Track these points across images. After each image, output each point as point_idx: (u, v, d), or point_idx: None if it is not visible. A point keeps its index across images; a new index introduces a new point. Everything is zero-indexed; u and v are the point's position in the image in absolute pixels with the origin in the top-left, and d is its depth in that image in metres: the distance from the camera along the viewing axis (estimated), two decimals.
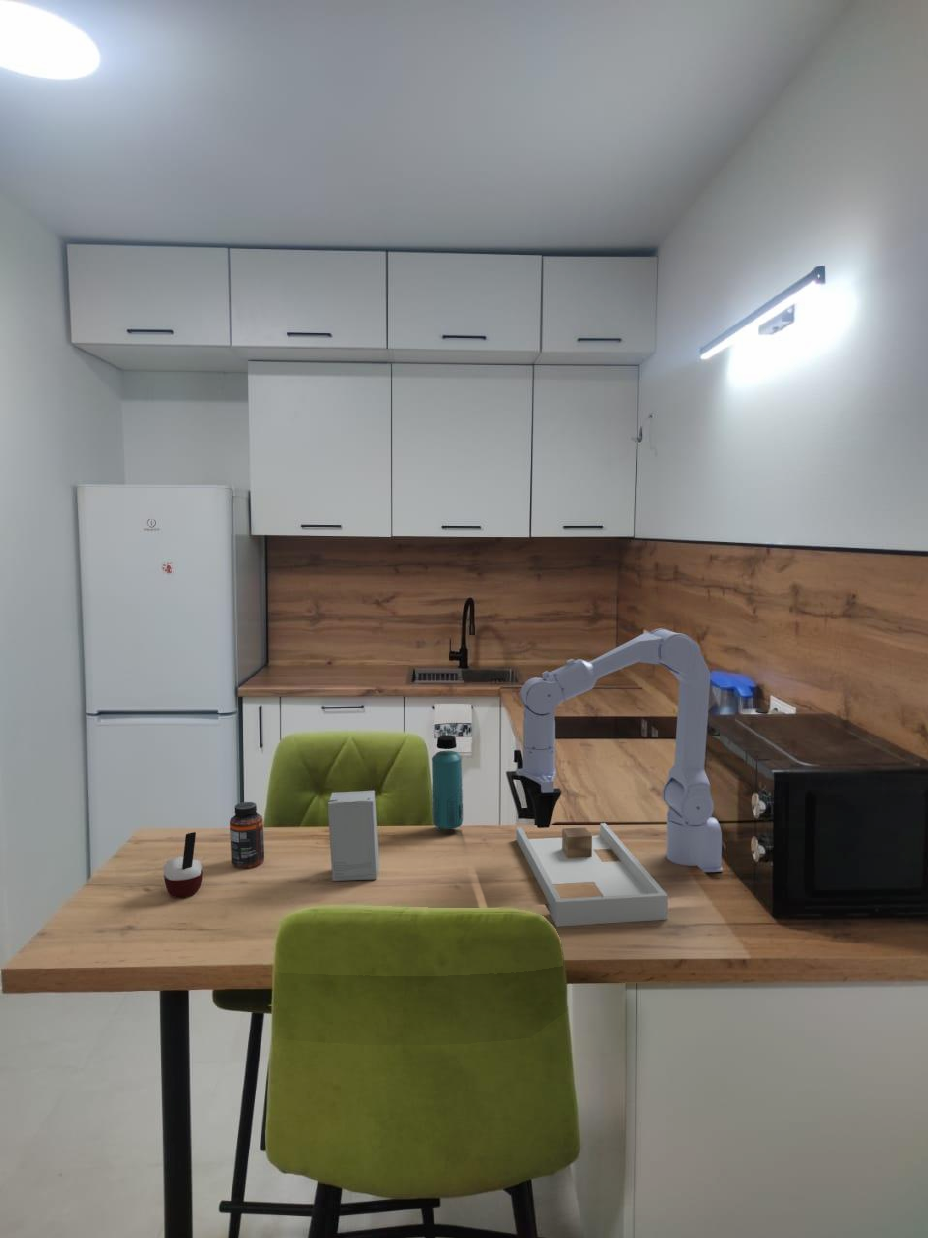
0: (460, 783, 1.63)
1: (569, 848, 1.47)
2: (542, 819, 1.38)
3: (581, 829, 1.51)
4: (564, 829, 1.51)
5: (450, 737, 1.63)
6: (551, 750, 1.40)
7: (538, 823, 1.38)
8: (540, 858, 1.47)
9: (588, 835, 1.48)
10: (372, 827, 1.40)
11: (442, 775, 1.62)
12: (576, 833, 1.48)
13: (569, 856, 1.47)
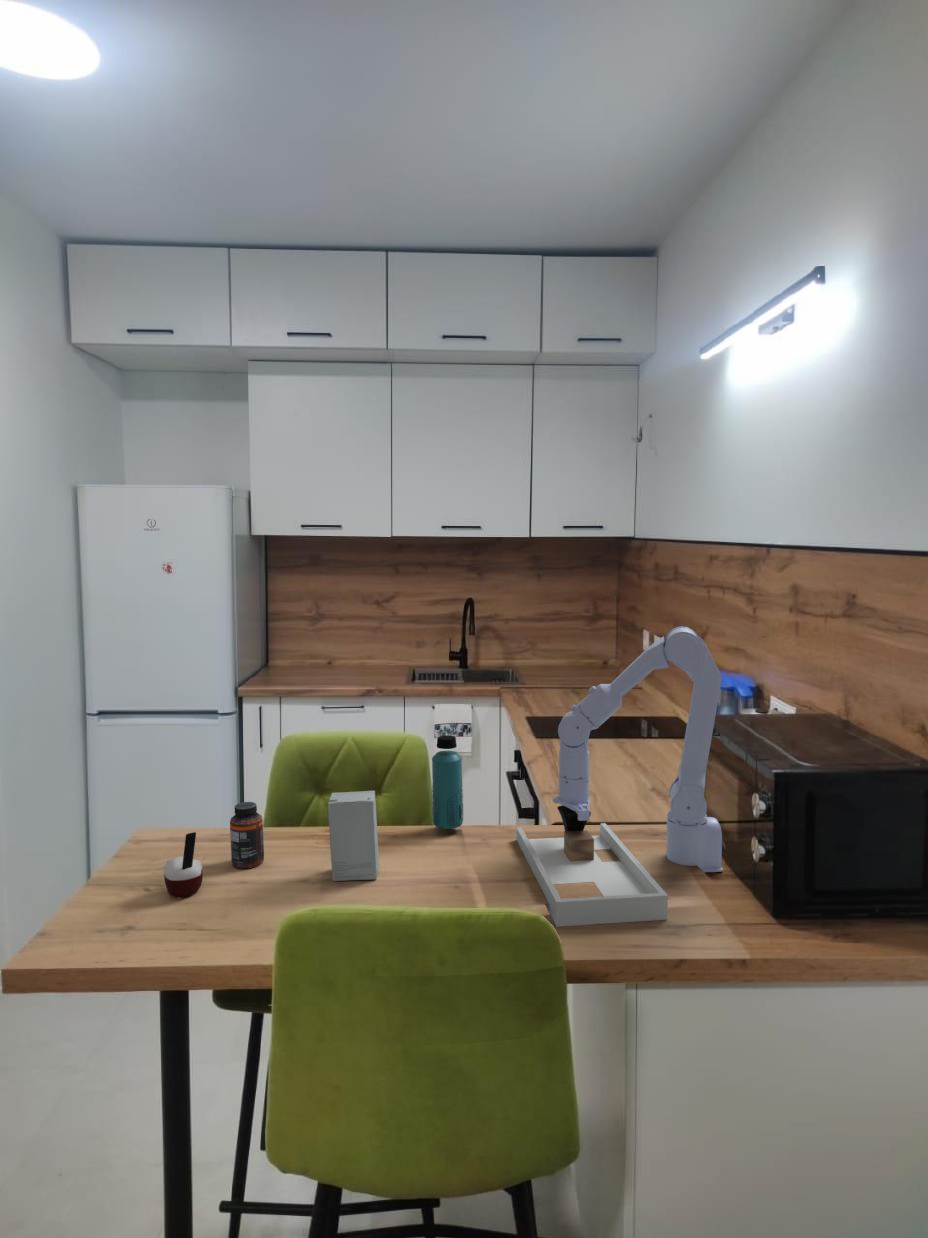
0: (460, 783, 1.63)
1: (571, 852, 1.45)
2: None
3: (583, 832, 1.49)
4: (566, 832, 1.49)
5: (450, 737, 1.63)
6: (586, 780, 1.49)
7: None
8: (540, 858, 1.47)
9: (590, 838, 1.46)
10: (372, 827, 1.40)
11: (442, 775, 1.62)
12: (578, 836, 1.47)
13: (571, 859, 1.46)
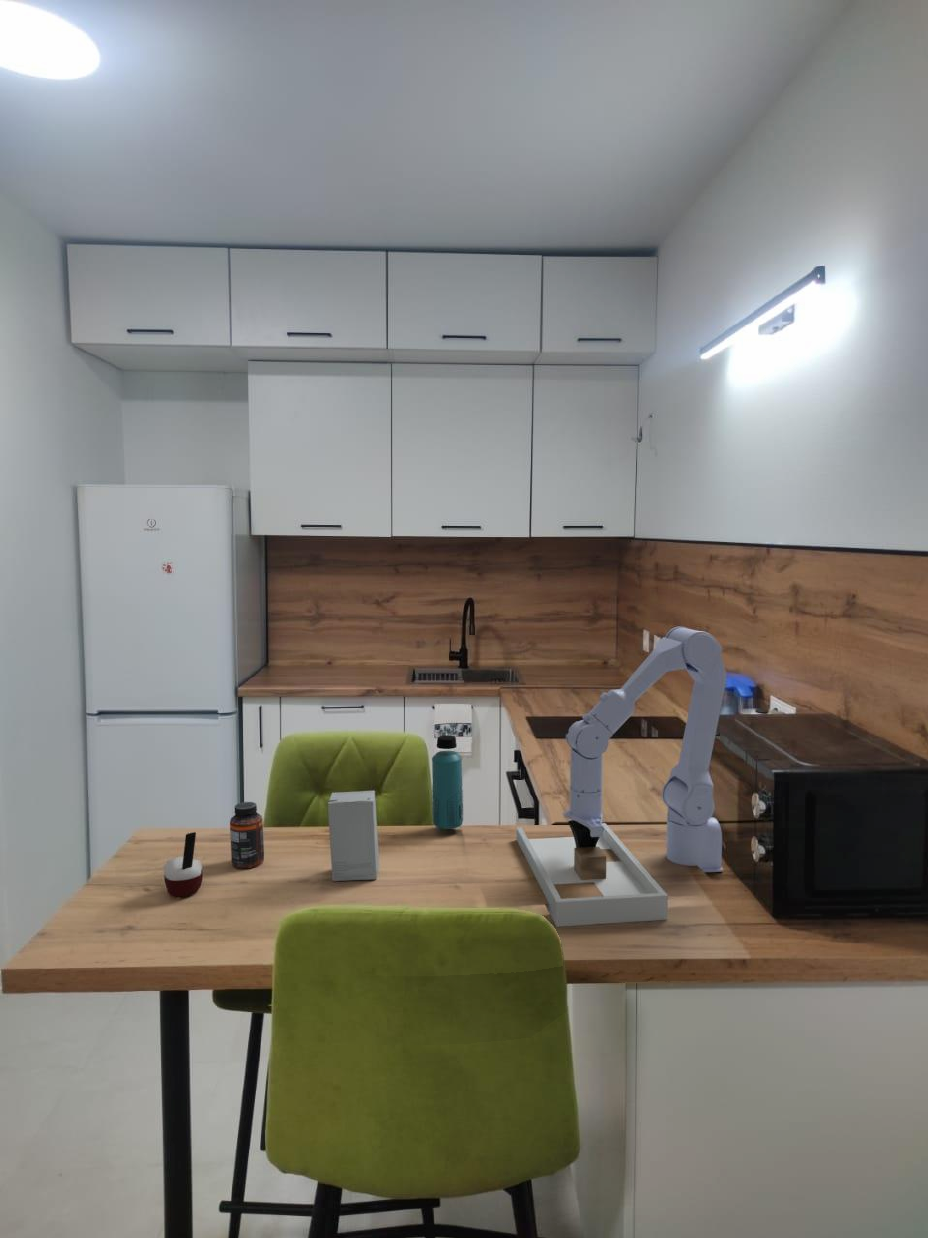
0: (460, 783, 1.63)
1: (582, 870, 1.37)
2: None
3: (594, 848, 1.41)
4: (576, 848, 1.41)
5: (450, 737, 1.63)
6: (599, 793, 1.40)
7: None
8: (540, 858, 1.47)
9: (602, 855, 1.38)
10: (372, 827, 1.40)
11: (442, 775, 1.62)
12: (589, 854, 1.39)
13: (582, 878, 1.37)
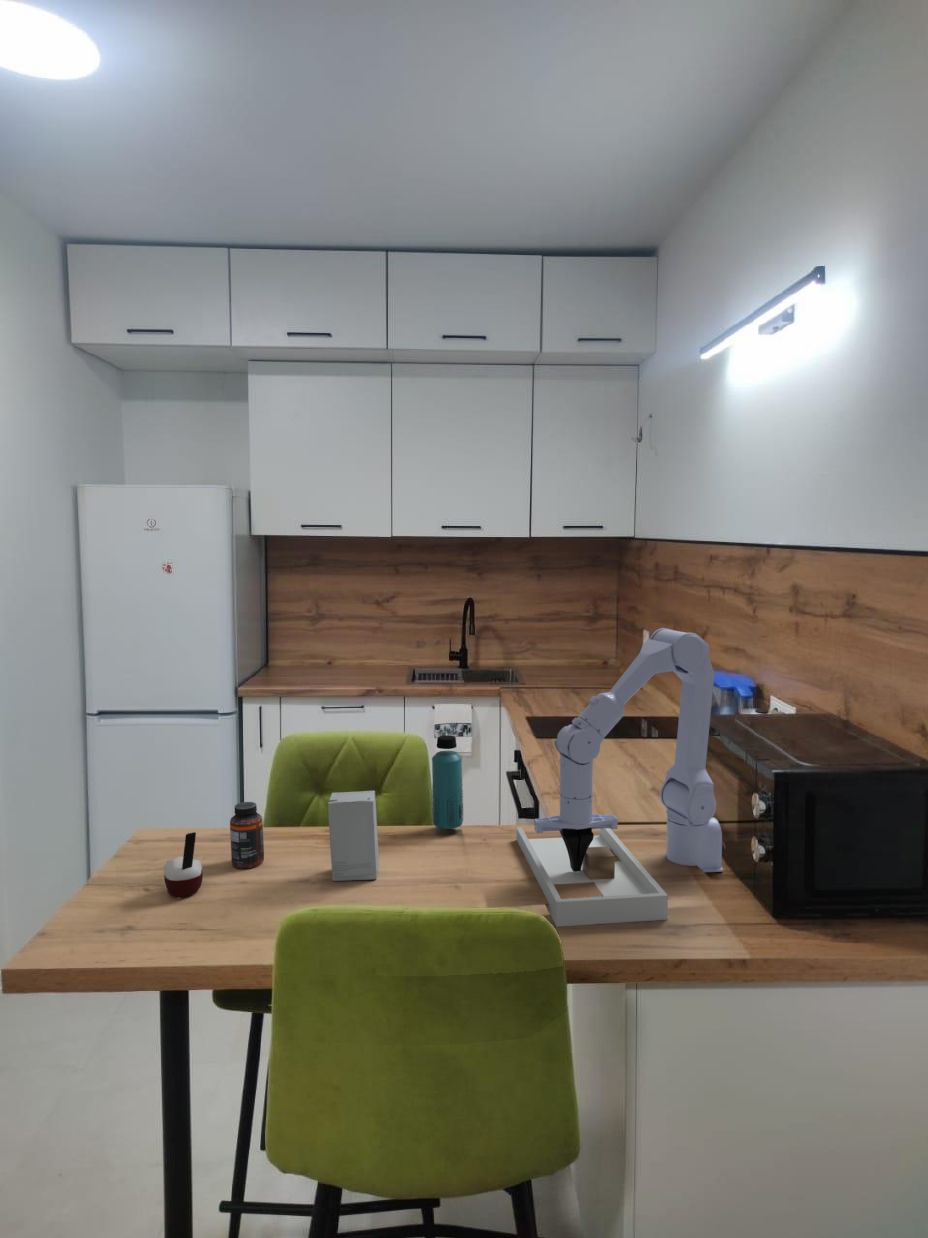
0: (460, 783, 1.63)
1: (590, 869, 1.37)
2: (570, 860, 1.40)
3: (603, 848, 1.41)
4: None
5: (450, 737, 1.63)
6: (566, 800, 1.37)
7: (570, 862, 1.41)
8: (540, 858, 1.47)
9: (611, 855, 1.38)
10: (372, 827, 1.40)
11: (442, 775, 1.62)
12: (597, 853, 1.39)
13: (590, 878, 1.38)
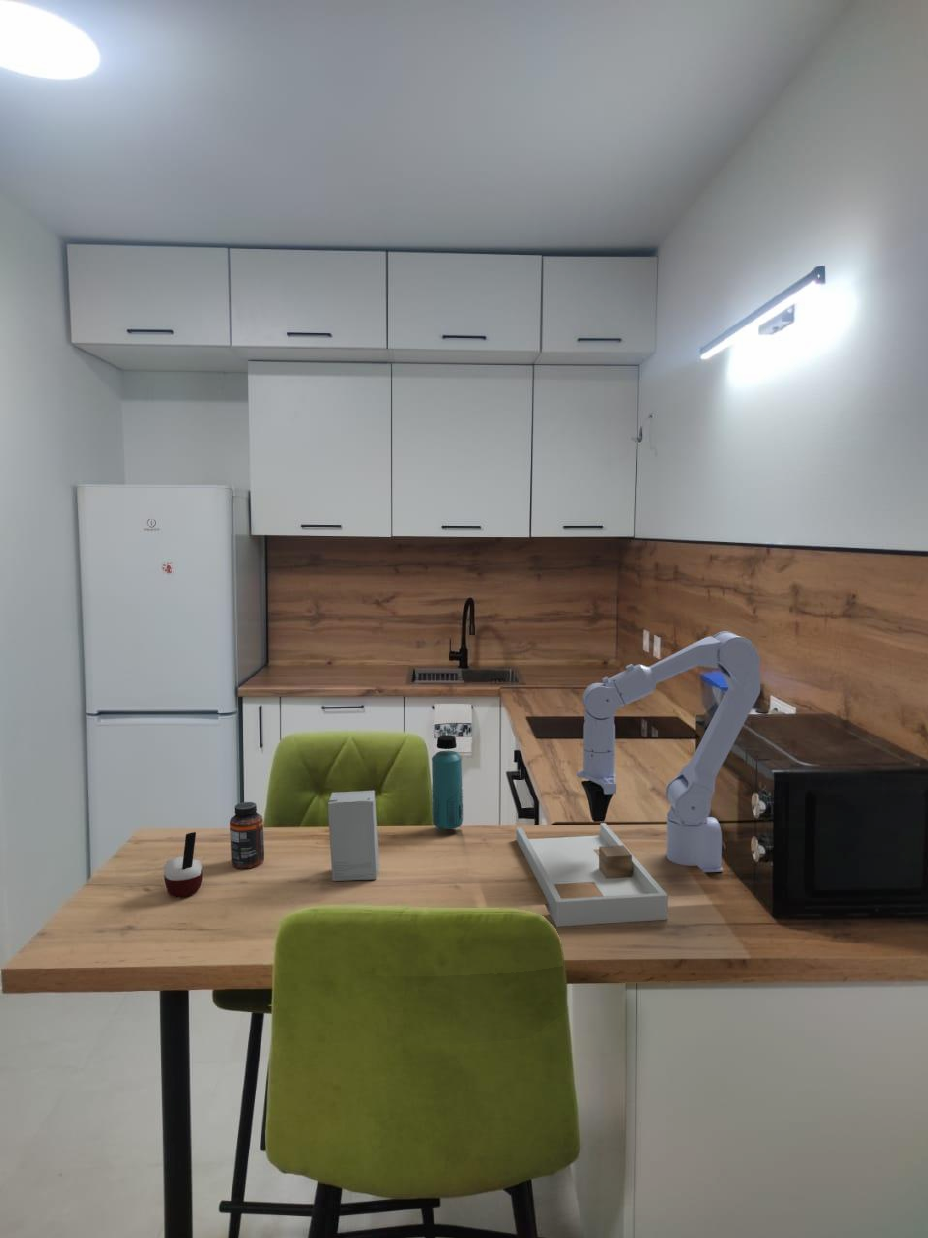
0: (460, 783, 1.63)
1: (607, 868, 1.38)
2: (598, 813, 1.46)
3: (619, 847, 1.41)
4: (601, 847, 1.41)
5: (450, 737, 1.63)
6: (612, 753, 1.44)
7: (594, 817, 1.46)
8: (540, 858, 1.47)
9: (628, 854, 1.38)
10: (372, 827, 1.40)
11: (442, 775, 1.62)
12: (614, 852, 1.39)
13: (608, 877, 1.38)
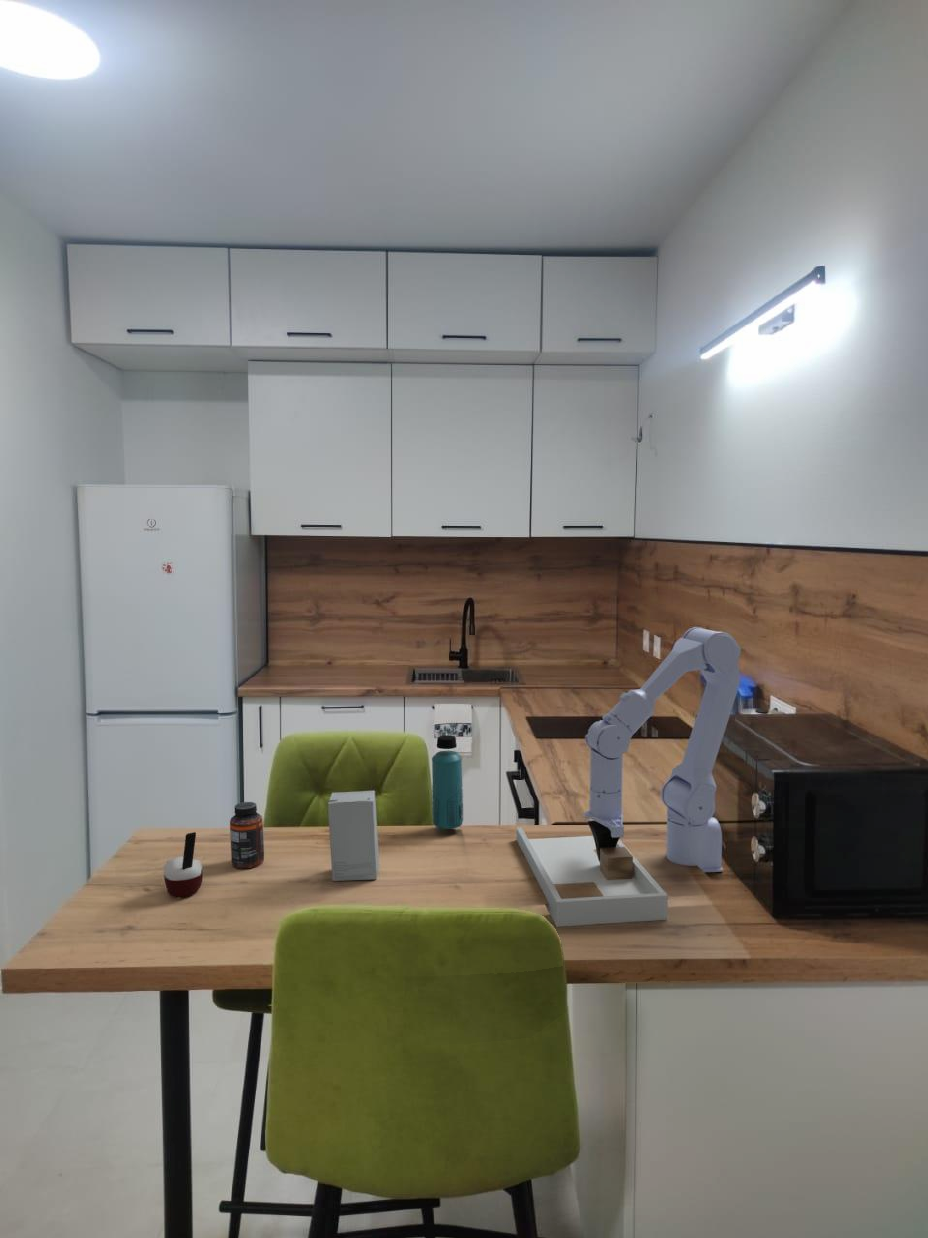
0: (460, 783, 1.63)
1: (608, 870, 1.37)
2: None
3: (620, 849, 1.41)
4: (602, 849, 1.41)
5: (450, 737, 1.63)
6: (619, 794, 1.40)
7: None
8: (540, 858, 1.47)
9: (629, 856, 1.38)
10: (372, 827, 1.40)
11: (442, 775, 1.62)
12: (615, 854, 1.39)
13: (608, 878, 1.37)
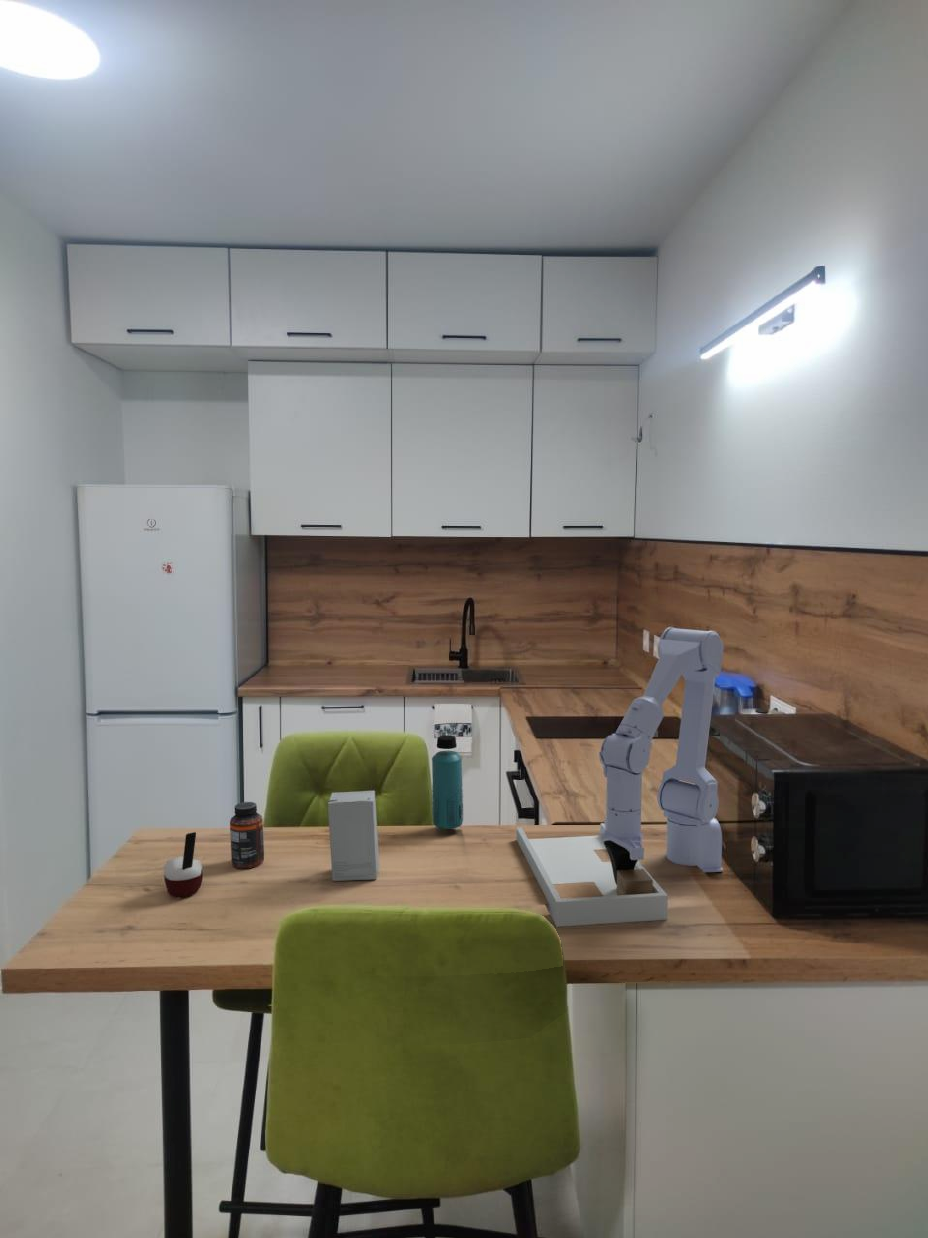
0: (460, 783, 1.63)
1: None
2: None
3: (639, 871, 1.31)
4: (619, 871, 1.31)
5: (450, 737, 1.63)
6: (638, 812, 1.31)
7: None
8: (540, 858, 1.47)
9: (648, 879, 1.28)
10: (372, 827, 1.40)
11: (442, 775, 1.62)
12: (634, 877, 1.29)
13: None
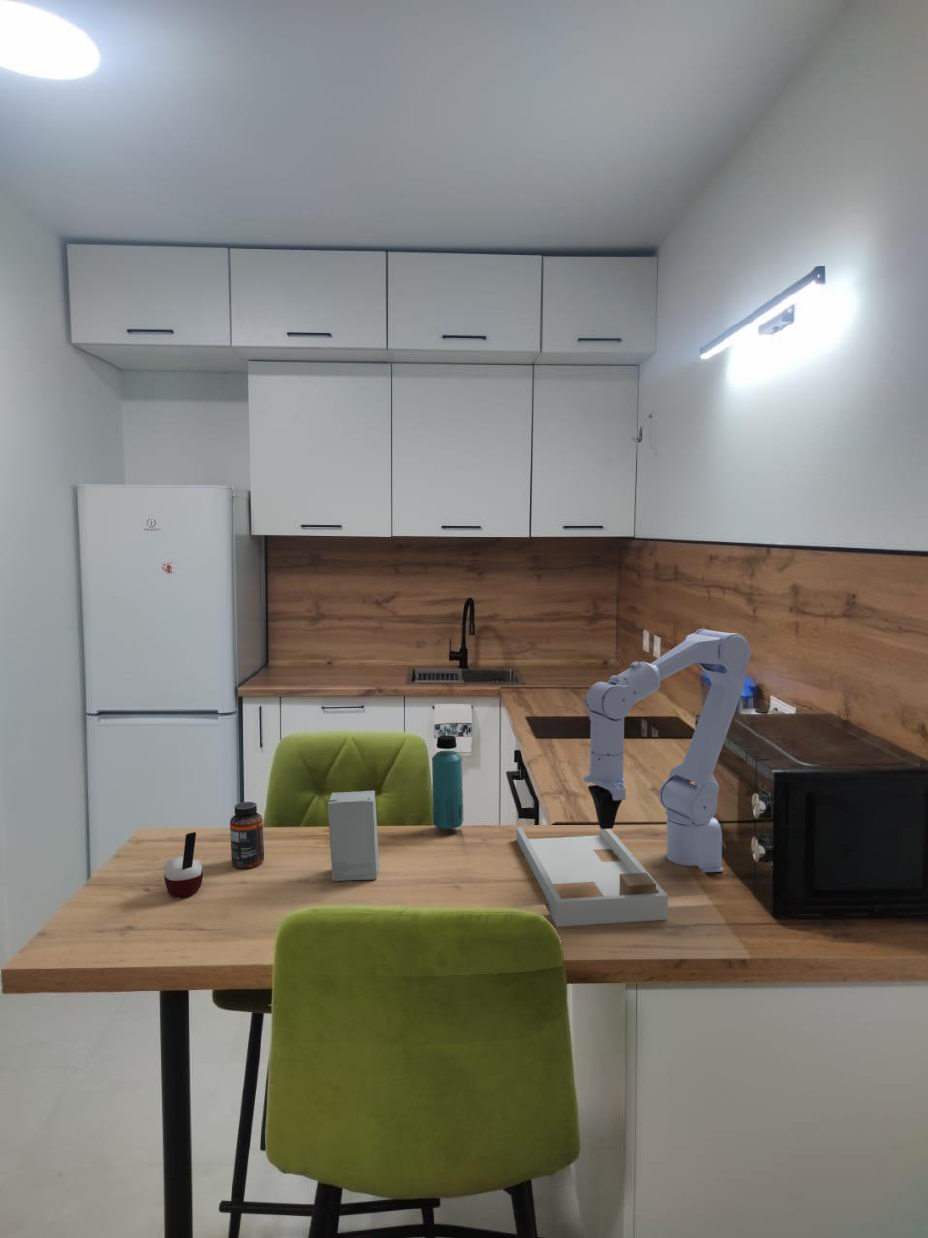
0: (460, 783, 1.63)
1: None
2: (606, 820, 1.38)
3: (642, 875, 1.30)
4: (622, 875, 1.30)
5: (450, 737, 1.63)
6: (620, 756, 1.36)
7: (602, 824, 1.38)
8: (540, 858, 1.47)
9: (651, 883, 1.27)
10: (372, 827, 1.40)
11: (442, 775, 1.62)
12: (637, 881, 1.27)
13: None
